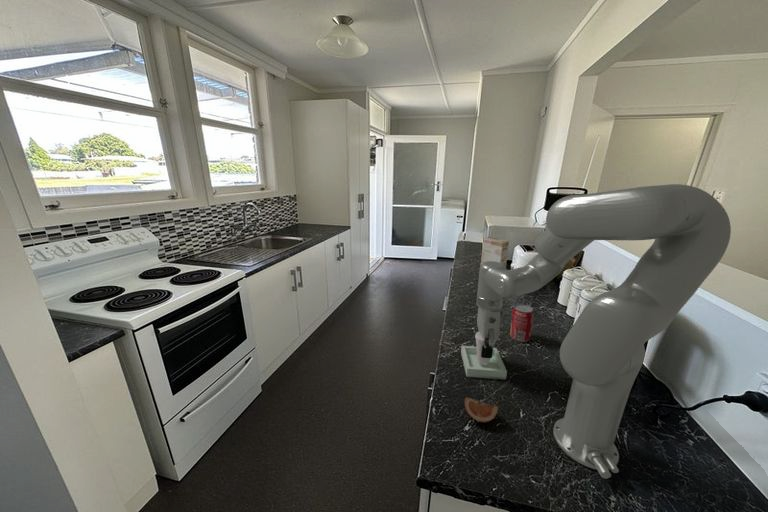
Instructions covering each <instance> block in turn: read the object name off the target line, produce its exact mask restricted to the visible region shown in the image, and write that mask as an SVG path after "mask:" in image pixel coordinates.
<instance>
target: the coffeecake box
mask: <svg viewBox="0 0 768 512" xmlns="http://www.w3.org/2000/svg"><path fill="white" fill-rule="evenodd" d="M482 239H483V241H482V250H481V260H480V262H481V263H480V265H481V264H482V263H484V262H487V261H495V262H499V263H502V264H504V265H505V266H506V267H507V261H508V252H509V247H510V246H509V244H510V240H505V239H501V238H496V237H493V236H492V237H491V236H488V237H483V238H482Z"/></svg>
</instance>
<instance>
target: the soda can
mask: <svg viewBox="0 0 768 512" xmlns="http://www.w3.org/2000/svg"><path fill="white" fill-rule="evenodd" d="M511 316H512V317H511V323H510V332H509V335H510V336H509V337H511V339H513V340H514V341H516V342H519V343H527V342H529V341H530V339H531V336H532V335H531V334H532V329H533V321H534V316H535V315H534V309H533V307H531V306H530V305H526V304H521V303H520V304H516V305H515V306H514V308H513V309H512V314H511Z"/></svg>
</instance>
